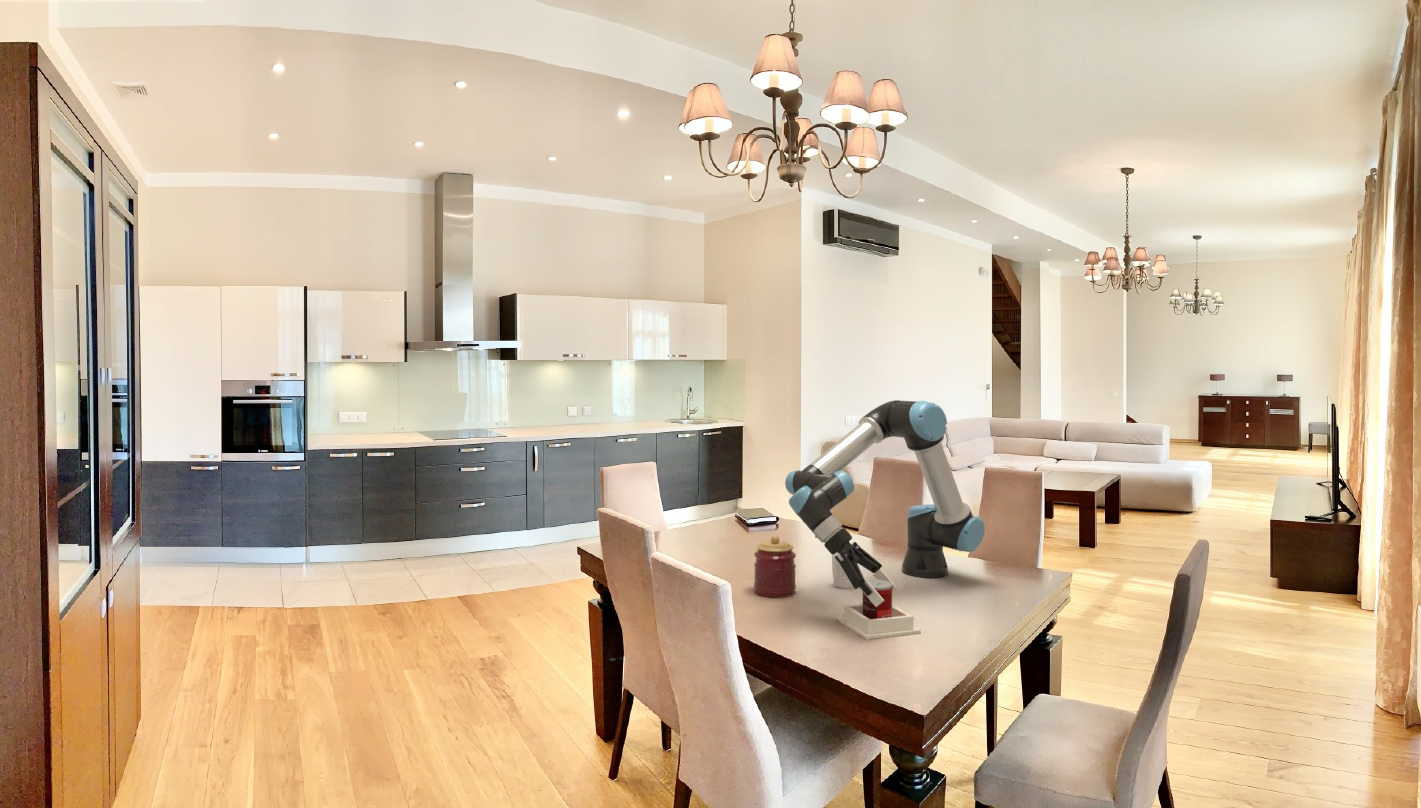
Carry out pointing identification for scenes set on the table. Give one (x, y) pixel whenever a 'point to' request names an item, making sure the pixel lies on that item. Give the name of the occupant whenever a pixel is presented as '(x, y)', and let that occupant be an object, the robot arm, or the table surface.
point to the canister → (774, 568)
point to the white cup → (839, 574)
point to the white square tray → (878, 623)
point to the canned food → (885, 607)
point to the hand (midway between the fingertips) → (886, 596)
